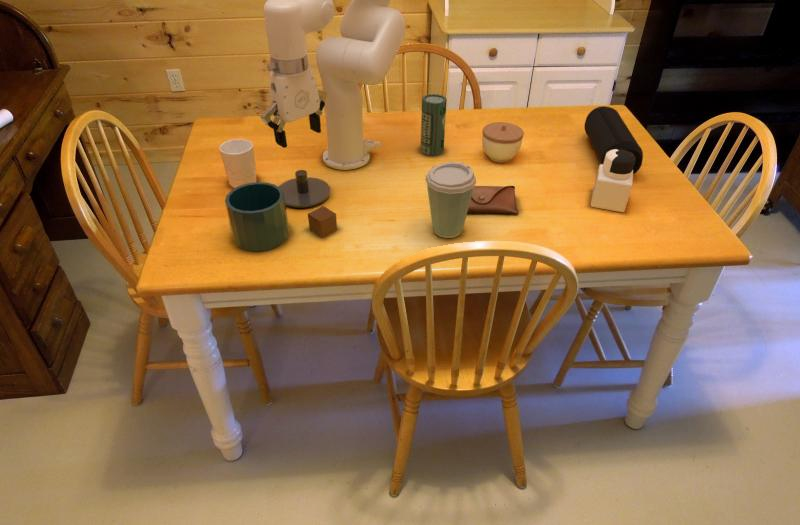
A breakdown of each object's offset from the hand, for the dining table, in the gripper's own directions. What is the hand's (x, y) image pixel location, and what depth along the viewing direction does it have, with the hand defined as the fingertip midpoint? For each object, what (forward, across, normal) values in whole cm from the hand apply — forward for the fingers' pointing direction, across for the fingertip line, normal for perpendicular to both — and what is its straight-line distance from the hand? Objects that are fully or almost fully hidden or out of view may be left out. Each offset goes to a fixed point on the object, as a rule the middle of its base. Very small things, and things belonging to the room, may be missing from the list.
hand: (299, 138), depth 127 cm
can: (+16, +38, -7) cm, 42 cm away
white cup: (+15, -8, +16) cm, 23 cm away
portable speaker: (+16, +70, -44) cm, 84 cm away
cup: (+15, -18, -6) cm, 24 cm away
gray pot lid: (+14, -1, 0) cm, 15 cm away
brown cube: (+15, -7, -14) cm, 22 cm away
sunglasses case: (+16, +26, -34) cm, 45 cm away
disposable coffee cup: (+15, +13, -34) cm, 40 cm away
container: (+16, +49, -54) cm, 75 cm away
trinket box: (+16, +49, -22) cm, 56 cm away
